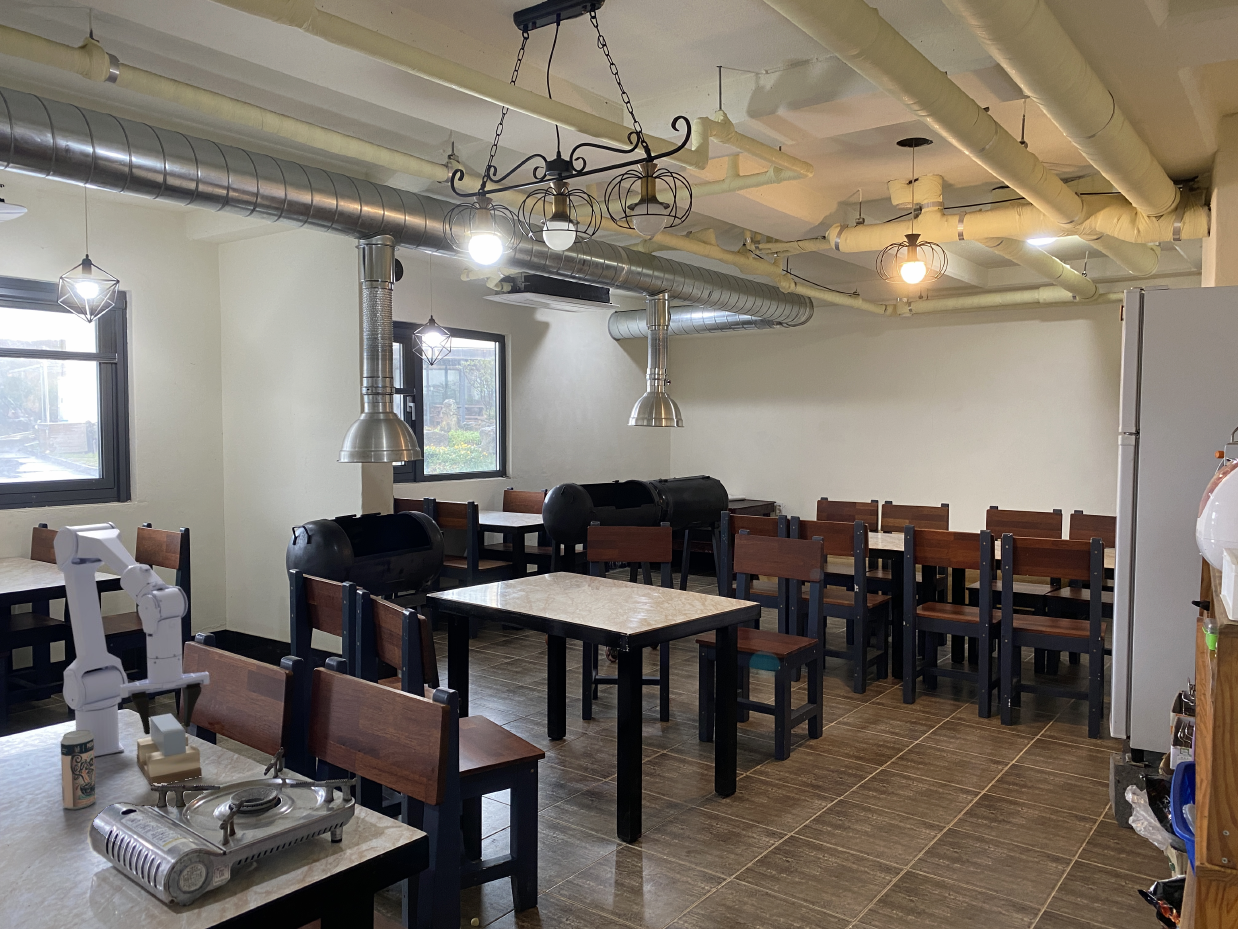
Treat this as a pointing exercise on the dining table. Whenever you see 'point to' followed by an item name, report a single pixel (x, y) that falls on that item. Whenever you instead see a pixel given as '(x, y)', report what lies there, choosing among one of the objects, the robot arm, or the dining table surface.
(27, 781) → the dining table surface
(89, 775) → the tea canister
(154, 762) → the display stand
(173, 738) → the grey rectangular block
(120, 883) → the dining table surface
